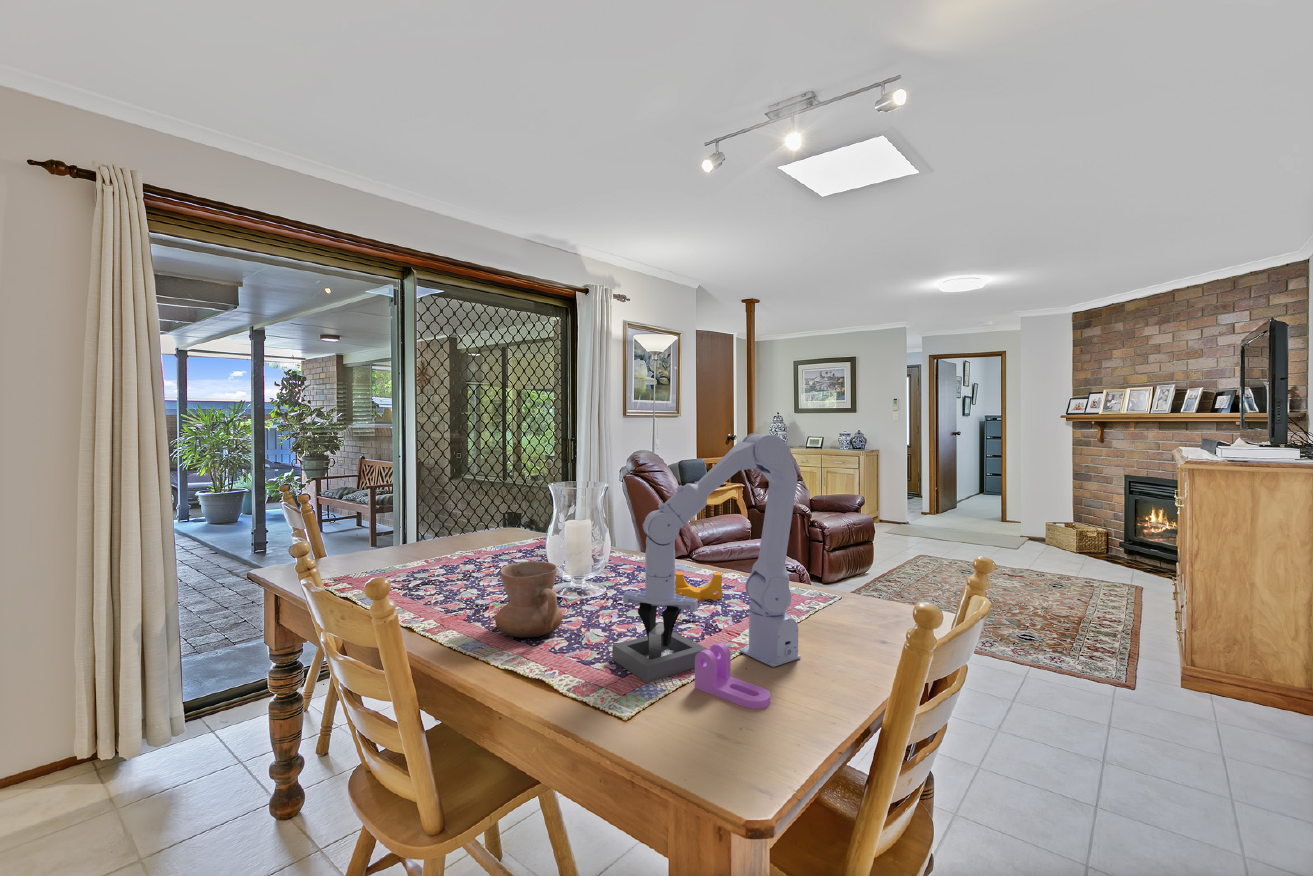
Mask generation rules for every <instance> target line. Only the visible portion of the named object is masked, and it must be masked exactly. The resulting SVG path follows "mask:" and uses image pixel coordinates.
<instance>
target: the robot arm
mask: <svg viewBox="0 0 1313 876" xmlns="http://www.w3.org/2000/svg"><path fill="white" fill-rule="evenodd" d="M791 456H792V455H791V447H790V446H789V445H788V444H787V443H786V442H785V441H784V440H783V439H782V437H780V436H778V435H775V434H761V433H749V434H747V435H746V436H745V437H744V438H743V439H742V441H739V442H737V443H736V444H735V445H733V446H732V448H731V449H729V451H728V452H727V453H725V455H724V456H723V457H722V458H721V459H720V460H719V461H718V462H717V463H716V464H714V466H712V468H710V469H709V470H708V471H707V472H706V473H705V474H704V475H703V476H702V477H701V478H700V479H698V480H697V482H696V483H689V482H687V483H686V484H685V485H681V484H680V485H678V486H677V487H676V488H675V490H676V492H675V493H674V494H673V495H672V496H671V497H669V498H668V499H667V500H666V501H665V502H664V503H662V502H660V503H659V504H658V506H657V507H658V509H657V510H653V511H650V512H649V513H648V514H647V515H646V516H645V520H644V521H643V523H642V529H643V531H644V532H643V533H645V535H646V537H645V538H646V539H645V546H646V547H645V552H644V553H645V557H644V558H645V560H644V563H645V567H644V568H645V573H644V574H645V579H644V582H645V583H644V584H645V585H644V587H645V591H631V590H630V591H629V590H627V591H625V592H624V593H623V594H622V597H623V598H622V599H623V601H622V603H623V605H624V604H626V605H629V604H637V605H639V606H638V608H637V614H638V615H639V617H640V619H641V622H642V624H643V626H644V628H645V632H646V633H645V634H646V636H648V641H649V632H650V631H651V630H652V629H653V628H654V627H655V626H656V625H657V624H656V622H657V613H658V612H657V611H658V607H663V608H666V609H664V610H663V611H662V612H661V615H662V623H663V624H664V640H663V641H664V646H668V645H669V644H670V641H671V636H672V632H674V628H675V625H676V622H677V620H678V618H679V615H680V614H681V611H682V610H688V611H689V612H692V613H693V612H694V613H695V612H696V611H697V610H698V608H699V607H698V606H699V603H698V602H699V601H698V599H695V598H689V597H685V596H681V595H677V594H675V576H676V550H675V548H676V547H675V542H676V541H675V540H677V539H678V536H679V533H680V529H681V528H683V527H684V526H685V525H687V524H688V523H689V522H690V521H691V520H692V519H693V518H695V516H697V515H698V514H699V513H700V512H701V511H702V510H704V508H705V507H706V506H707V505H708V497H709V496H710V495H711V494H712V493H713V492H714V491H716V490H717V489H719V487H720V486H722V485H723V484H724V483H726V482H727V481H728V480H729V479H730V478H732V477H733V476H734V475H735V474H737V473H738V472H739V471H746V470H752V469H757V470H759V471H760V473H761V474H762V475H763V477H764V478H766V480H767V481H768V490H767V497H766V502H765V511H764V515H763V516H764V518H763V526H762V532H761V538H760V545H759V553H758V558H757V559H756V561H755V562H754V563H753V565H752V569H751V571H750V572H751V573H750V575H749V576H748V577H747V579H746V581H745V588H744V589H745V593H746V594H747V596H748V598H749V599H750V602H749V607H748V610H749V611H748V646H744V647H742V648H741V647H740V648H739V652H740V653H742V654H744V655H745V656H749V657H751V658H753V659H754V660H757V661H759V662H761V663H763V664H765V665H768V666H770V667H772V668H776V667H778V666H781V665H784V664H787V663H790V662H793V661H796V660H799V659H801V658H802V656H801V655H800V654H799V625H798V623H797V621H796V620H795V619H794V618H793V617H791V616H789V614H788V613H787V610H788V609H789V607H790V605H791V603H792V593H791V590H790V579H791V578H790V576H789V575H790V574H789V573H788V570H787V567H786V559H787V552H788V546H789V540H790V533H791V525H792V520H793V519H792V518H793V512H794V504H795V499H796V490H797V486H798V485H797V484H798V472H797V470H796V468H795V465H794V464H795V463H794V462H793V459H792V457H791Z"/></svg>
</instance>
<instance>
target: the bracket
mask: <svg viewBox="0 0 1313 876" xmlns="http://www.w3.org/2000/svg"><path fill="white" fill-rule="evenodd" d="M707 649H708V648H707ZM707 649H706V650H703V651H701V652H699V653H697V654H696V656H695V668H694V688H695V689H697V690H700V691H702V692H705V693H708V694H710V695H713V696H715V697H718V698H721V699H722V700H726V701H728V702H731V703H734V704H736V705H739V706H742V707H744V708H747V709H750V710H751V709H753V710H760V709H766V708H767V707H769V706H770V705H771V693H770V691H769V690H768V689H766V688H764V687H763V686H760V685H756V684H753V683H750V682H747V681H744V680H742V679H739V678H736V677H734V676H732V674H731V663H732V662H731V661H732V659H731V652H730V649H729V647H728V645H726V644H725V643H723V642H716V643H715V644H713V645H711V646H710V648H709V649H708V650H707ZM705 660H706V662H707V663H706V662H705Z"/></svg>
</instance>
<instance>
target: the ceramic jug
mask: <svg viewBox="0 0 1313 876" xmlns="http://www.w3.org/2000/svg"><path fill="white" fill-rule="evenodd" d="M557 571H558V566H557V565H556V564H554V563H552V562H549V561H537V560H533V561H532V560H531V561H528V560H527V561H520V562H518V563H515V562H514V563H513V562H512V563H510V564H507V565H504V566H503V567H501V569H500V577H501V578H500V579H501V582H502V585H503V588H504V590H505V593H506V596H507V598H508V600H509V602H508V603H506V604H505V605H503V606H502V607H501V608H500V609H499V610H498V611H497V612H496V615H495V617H494V623H495V626H496V628H497V629H498V630H499V631H500V632H501V633H503V634H505V635H507V636H510V637H515V638H536V637H540V636H544V635H547V634H550V633H552V632H553V631H555V630H556V629H557V628H558V627H560V626H561V623H562V621H563V617H564V615H563V612H562V610H561V608H560V606H558V599H557V598H558V596H557V593H556V592H555V591H554V590H553V589H554V586H555V582H556V579H557Z"/></svg>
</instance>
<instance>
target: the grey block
mask: <svg viewBox="0 0 1313 876" xmlns="http://www.w3.org/2000/svg"><path fill="white" fill-rule="evenodd" d="M663 640H664V624H663V622H658V623H657V624H656V626H655V627H654V628H653V629H652V630H651V631H650V632H649V655H648V657H647V658H648V659H650V660H651V659H655V658H658V657H662V656H665V655H669V654H672V653H674V651H673V650H670V644H669V645H668V646H664V641H663Z"/></svg>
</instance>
